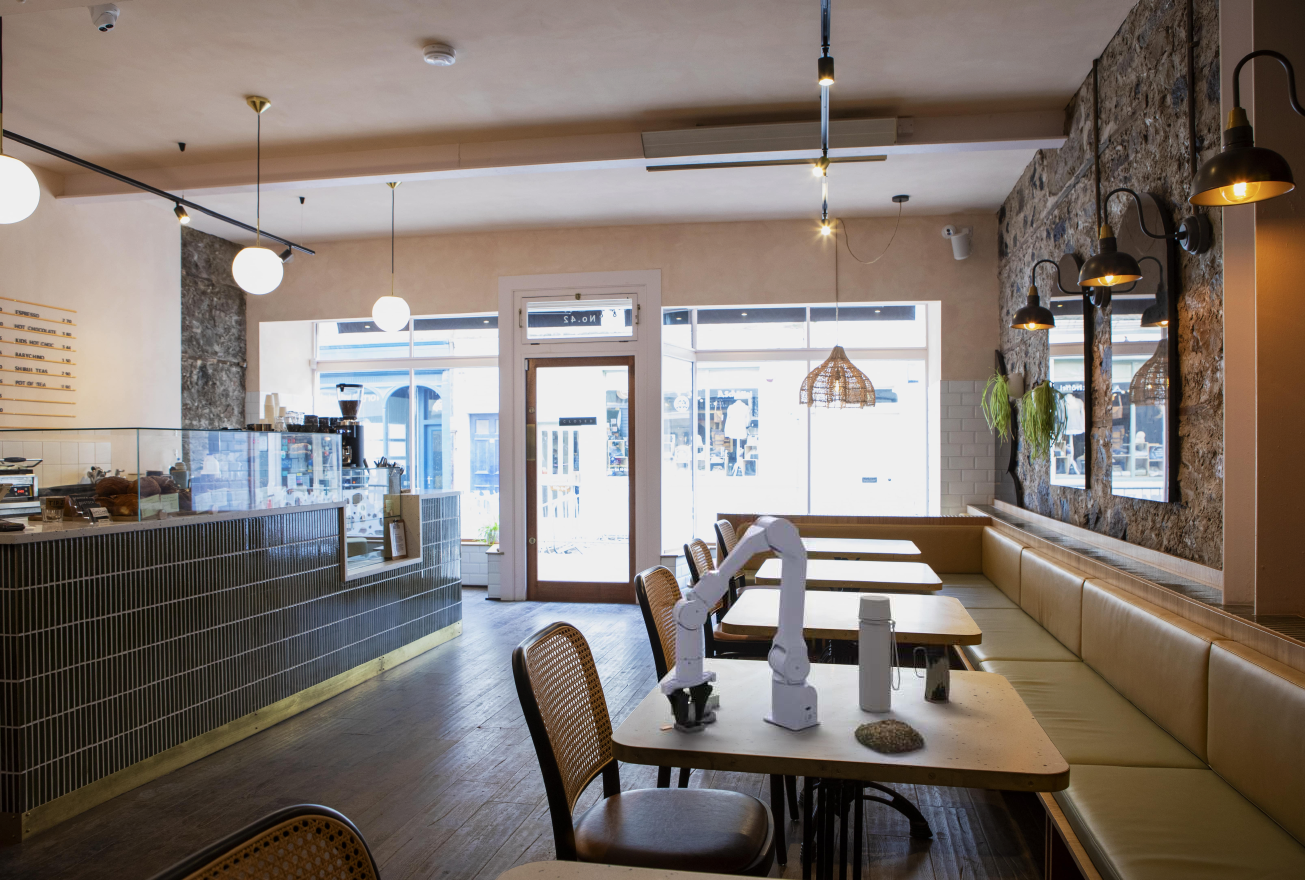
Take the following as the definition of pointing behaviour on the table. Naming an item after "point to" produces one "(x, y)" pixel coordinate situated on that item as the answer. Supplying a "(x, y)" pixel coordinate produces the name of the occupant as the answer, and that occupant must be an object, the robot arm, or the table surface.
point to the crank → (706, 711)
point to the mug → (936, 676)
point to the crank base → (699, 724)
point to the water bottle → (875, 654)
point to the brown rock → (889, 736)
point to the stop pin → (691, 714)
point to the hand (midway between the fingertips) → (689, 721)
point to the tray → (712, 698)
